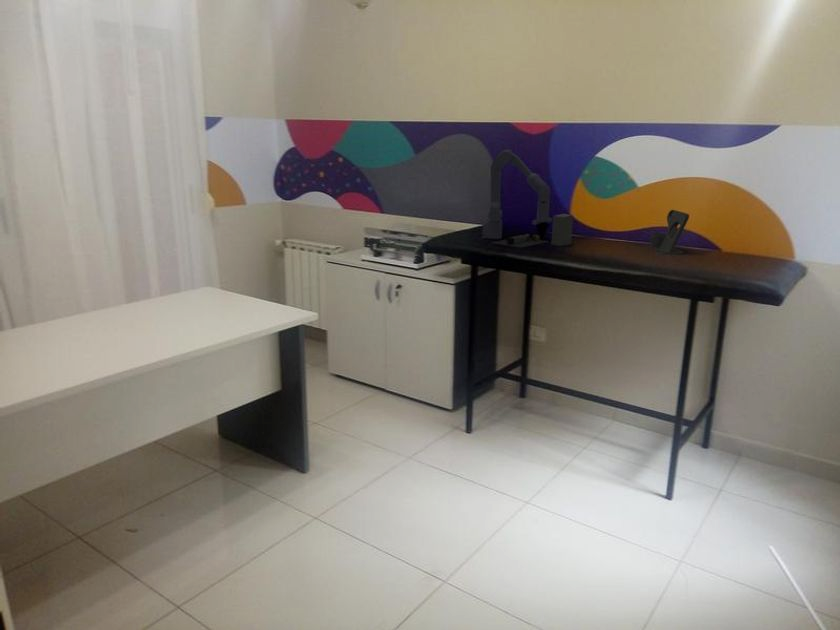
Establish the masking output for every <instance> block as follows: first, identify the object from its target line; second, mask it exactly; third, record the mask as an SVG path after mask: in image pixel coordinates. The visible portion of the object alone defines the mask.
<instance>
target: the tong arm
mask: <svg viewBox="0 0 840 630" xmlns="http://www.w3.org/2000/svg"><path fill="white" fill-rule="evenodd" d="M518 236H519V237H515V236H513V237H514V238H510V237H508V238H509V244H510V245H512V244H516V243H521V242H525V241H527V236H526V235H525V234H524V236H520V235H518Z"/></svg>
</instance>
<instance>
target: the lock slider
mask: <svg viewBox="0 0 840 630" xmlns="http://www.w3.org/2000/svg"><path fill="white" fill-rule="evenodd" d="M531 239H532V240H535V241H537V240H541V238H540V236H539V235H538V234H533V235H532V236H531Z"/></svg>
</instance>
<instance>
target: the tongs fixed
mask: <svg viewBox="0 0 840 630" xmlns="http://www.w3.org/2000/svg"><path fill="white" fill-rule="evenodd" d="M524 235H526V236H527V241H530V239H531V234H530V233H525V234H524ZM524 235H523V234H522V235H516V236H512V237H511V236H510V237H506V239H507V243H506V244H508V245H509V238H514V237H519V236H524Z"/></svg>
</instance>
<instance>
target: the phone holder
mask: <svg viewBox="0 0 840 630" xmlns="http://www.w3.org/2000/svg"><path fill="white" fill-rule="evenodd" d="M689 219H690V214H689V213H686V212H683V211H679V210H675V209H671V210H669V212H668V213H667V216H666V221H667V228H668V230H667V232H666V233H653V234H651V241H650V246H649V249H652V250H654V251H657V252H658V253H660V254H664V255H685V254H686V251H683V250H681V249H678V248H676V245H677V243H678V241H679V239H680V237H681V236H682V233H683V231H684V229H685V228H686V225H687V222H688V220H689ZM678 226H679V227H678Z"/></svg>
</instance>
